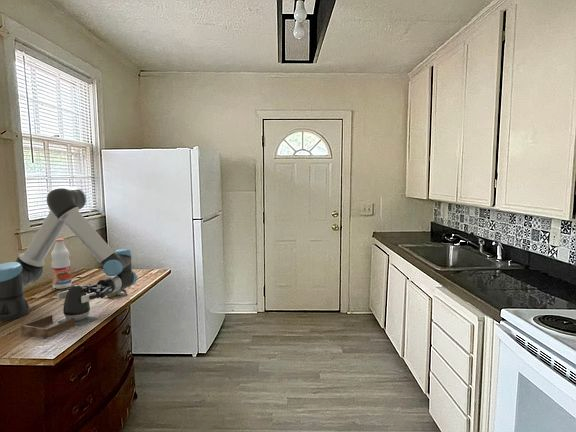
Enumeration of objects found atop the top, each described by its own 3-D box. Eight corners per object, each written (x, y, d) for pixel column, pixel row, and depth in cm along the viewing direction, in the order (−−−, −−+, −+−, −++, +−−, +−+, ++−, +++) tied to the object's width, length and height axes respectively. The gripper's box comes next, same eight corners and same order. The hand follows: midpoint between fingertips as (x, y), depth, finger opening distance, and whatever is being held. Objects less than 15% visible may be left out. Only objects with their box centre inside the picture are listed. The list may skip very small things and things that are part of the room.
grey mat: (57, 322, 162) (57, 321, 162) (75, 315, 170) (75, 314, 170) (80, 326, 158) (80, 325, 157) (97, 318, 166) (97, 317, 166)
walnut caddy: (21, 333, 150) (21, 325, 149) (51, 322, 162) (51, 314, 161) (46, 338, 145) (45, 329, 145) (75, 326, 157) (74, 318, 157)
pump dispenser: (79, 324, 158) (77, 289, 157) (57, 322, 160) (56, 287, 159) (96, 316, 168) (94, 282, 167) (76, 314, 170) (74, 281, 169)
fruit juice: (63, 284, 224) (61, 237, 221) (75, 285, 220) (72, 238, 218) (48, 288, 215) (45, 239, 212) (60, 289, 212) (57, 240, 209)
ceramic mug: (103, 298, 196) (102, 283, 195) (108, 293, 204) (108, 279, 203) (124, 297, 198) (124, 283, 197) (129, 292, 206) (128, 279, 205)
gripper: (130, 295, 176) (92, 309, 156) (89, 290, 184) (49, 303, 164) (129, 279, 175) (91, 292, 155) (88, 275, 184) (48, 286, 164)
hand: (69, 298), depth 160 cm, fingers open, 13 cm apart
